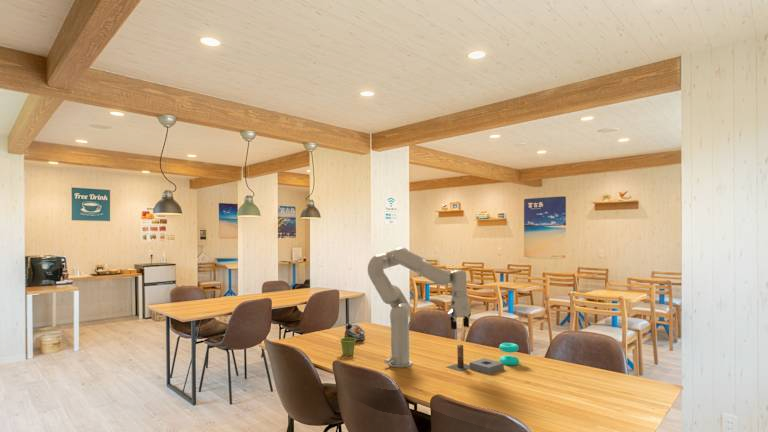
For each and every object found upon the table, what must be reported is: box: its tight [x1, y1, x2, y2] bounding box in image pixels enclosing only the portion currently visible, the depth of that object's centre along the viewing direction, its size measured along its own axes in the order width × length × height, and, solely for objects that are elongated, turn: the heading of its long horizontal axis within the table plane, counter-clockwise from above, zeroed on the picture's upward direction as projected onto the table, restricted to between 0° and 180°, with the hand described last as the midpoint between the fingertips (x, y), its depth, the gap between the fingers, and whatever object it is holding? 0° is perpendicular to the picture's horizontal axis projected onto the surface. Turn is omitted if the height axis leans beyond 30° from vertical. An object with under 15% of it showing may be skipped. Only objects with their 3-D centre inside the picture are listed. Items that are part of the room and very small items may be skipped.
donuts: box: [498, 342, 520, 367], centre depth 233 cm, size 10×10×10 cm
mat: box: [445, 363, 471, 373], centre depth 226 cm, size 12×10×1 cm
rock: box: [343, 323, 366, 341], centre depth 290 cm, size 15×12×14 cm
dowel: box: [456, 344, 465, 368], centre depth 226 cm, size 3×3×11 cm
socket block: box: [469, 358, 505, 375], centre depth 222 cm, size 12×12×4 cm
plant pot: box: [339, 337, 357, 357], centre depth 254 cm, size 9×9×9 cm
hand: (460, 327), depth 227 cm, fingers open, 9 cm apart
